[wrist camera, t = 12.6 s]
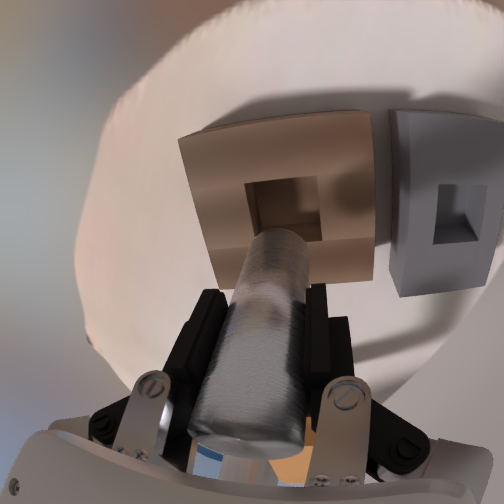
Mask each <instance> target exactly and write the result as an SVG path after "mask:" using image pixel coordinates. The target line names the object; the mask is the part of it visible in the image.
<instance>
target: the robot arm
mask: <svg viewBox="0 0 504 504" xmlns="http://www.w3.org/2000/svg"><path fill="white" fill-rule="evenodd" d="M227 310H228V304H227V301H226V298H225V295H224V293H223V292H220V291H219V289H204V290H203V292H202V294H201V296H200V298H199V300H198V302H197V304H196V306H195V308H194V310H193V313H192V315H191V317H190V319H189V321H187V322H185V324H184V326H183V328H182V330H181V332H180V334H179V336H178V338H177V340H176V342H175V344H174V346H173V349H172V351H171V353H170V355H169V357H168V359H167V361H166V363H165V366H164V368H163V370H162V371H158V370H154V371H149V372H147V373H145V374H143V375H142V376H140V377H139V379H138V380H137V381H136V383H135V385H134V387H133V390H132V393H131V395H130V396H127V397H125V398H123V399H121V400H119V401H117V402H115V403H113V404H111V405H109V406H107V407H105V408H103V409H101V410H99V411H97V412H95V413H94V414H93V416H92V417H90V416H83V417H76V418H69V419H62V420H57V421H54V422H53V423H51V425H50V426H49V428H48V430H41V431H38V432H35V433H34V434H32V435H31V436H30V437H29V438H28V439H27V440H26V442H25V443H24V445H23V446H22V448H21V449H20V451H19V453H18V455H17V457H16V459H15V461H14V463H13V465H12V467H11V469H10V471H9V473H8V476H7V479H6V481H5V483H4V486H3V488H2V491H1V494H0V504H480V502H481V500H482V497H483V495H484V491H485V489H486V486H487V483H488V480H489V477H490V474H491V470H492V467H493V456H492V453H491V452H490V451H489V450H488V449H486V448H484V447H478V446H473V445H467V444H462V443H457V442H453V441H448V440H444V439H440V438H439V439H438V440H433V439H430V438H428V437H427V435H426V434H425V433H424V432H422V431H421V430H420V429H418V428H416V427H415V426H413V425H412V424H410V423H408V422H407V421H405V420H404V419H402V418H401V417H399V416H397V415H396V414H394V413H393V412H391V411H390V410H388V409H387V408H385V407H384V406H382V405H381V404H379V403H378V402H376V401H375V400H373V399H372V398H371V391H370V388H369V386H368V385H367V383H366V382H364V381H363V380H362V379H360V378H357V377H355V374H354V364H353V355H352V346H351V337H350V330H349V322H348V317H347V316H342V317H329V318H328V308H327V294H326V283H316V284H311V288H306V301H305V337H304V360H303V379H304V391H305V392H306V394H307V399H308V400H307V417H311V429H312V430H313V431H314V432H315V433H316V435H315V440H314V445H313V450H312V455H311V459H310V464H309V468H308V473H307V477H306V481H305V486H304V487H283V486H277V484H278V477H277V475H276V473H275V472H274V470H273V468H272V466H271V464H270V463H269V461H268V460H253V459H245V458H239V457H234V456H230V455H226V454H224V457H223V461H222V465H221V469H220V472H219V476H218V479H212V478H206V477H202V476H197V475H192V473H193V468H194V462H195V456H196V450H197V444H198V442H197V441H196V440H195V439H193V438H192V437H191V436H190V434H189V433H188V431H187V426H188V423H189V420H190V417H191V414H192V411H193V409H194V406H195V403H196V400H197V397H198V394H199V391H200V388H201V385H202V382H203V380H204V377H205V374H206V371H207V368H208V365H209V362H210V359H211V356H212V354H213V351H214V348H215V345H216V342H217V339H218V336H219V333H220V330H221V328H222V325H223V322H224V319H225V316H226V313H227ZM365 472H366V473H367V474H368V475H370V476H371V477H373V478H374V479H375V480H377V481H378V482H379V483H370V484H364V480H365Z"/></svg>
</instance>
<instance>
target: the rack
mask: <svg viewBox="0 0 504 504" xmlns="http://www.w3.org/2000/svg"><path fill="white" fill-rule="evenodd" d="M389 116H390V127H391V141H392V162H393V216H392V237H391V251H390V263H389V271H390V274H391V276H392V279H393V281H394V284H395V287H396V289H397V292H398V295H399V297H409V296H418V295H426V294H433V293H441V292H448V291H455V290H462V289H468V288H475V287H481V286H485V283H486V280H487V277H488V274H489V270H490V267H491V263H492V260H493V256H494V252H495V248H496V244H497V240H498V235H499V230H500V225H501V220H502V214H503V208H504V122H500V121H497V120H493V119H490V118H486V117H482V116H475V115H468V114H459V113H450V112H439V111H424V110H399V109H389Z"/></svg>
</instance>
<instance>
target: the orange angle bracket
mask: <svg viewBox="0 0 504 504" xmlns="http://www.w3.org/2000/svg"><path fill="white" fill-rule="evenodd" d="M315 435H316V433H315V432H314V431H313V430H312V429H311V417H306V431H305V443H304V449H303V451H302V452H300V453H299V454H297V455H295V456H292V457H289V458H285V459H278V460H268V461H269V463H270V464H271V466H272V468H273V470H274V472H275V473H276V475H277V477H278V479H279V480H282V481H283V483H305V481H306V477H307V473H308V468H309V464H310V459H311V455H312V450H313V445H314V440H315Z"/></svg>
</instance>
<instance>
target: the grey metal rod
mask: <svg viewBox="0 0 504 504" xmlns="http://www.w3.org/2000/svg"><path fill="white" fill-rule="evenodd" d="M306 288H310V261H309V249H308V246H307V244H306V243H305V241H304V240H303V239H302V237H300V236H299V235H298V234H296V233H295V232H293V231H291V230H288V229H284V228H272V229H268V230H265V231H263V232H261V233H260V234H258V235H257V236H256V237H255V238H254V239H253V241H252V243H251V245H250V247H249V250H248V253H247V256H246V259H245V262H244V265H243V267H242V270H241V273H240V276H239V279H238V282H237V285H236V287H235V290H234V293H233V296H232V299H231V302H230V305H229V307H228V310H227V313H226V316H225V319H224V322H223V325H222V328H221V330H220V333H219V336H218V339H217V342H216V345H215V348H214V351H213V354H212V356H211V359H210V362H209V365H208V368H207V371H206V374H205V377H204V380H203V382H202V385H201V388H200V391H199V394H198V397H197V400H196V403H195V406H194V409H193V411H192V414H191V417H190V420H189V423H188V426H187V431H188V433H189V434H190V436H191V437H192V438H193V439H195V440H196V441H197V442H199V443H200V444H202V445H204V446H206V447H208V448H210V449H212V450H215V451H217V452H220V453H223V454H226V455H230V456H234V457H239V458H245V459H253V460H278V459H285V458H289V457H292V456H295V455H297V454H299V453H300V452H302V451H303V449H304V443H305V431H306V417H307V400H308V399H307V394H306V392H305V391H304V379H303V360H304V337H305V301H306Z"/></svg>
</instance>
